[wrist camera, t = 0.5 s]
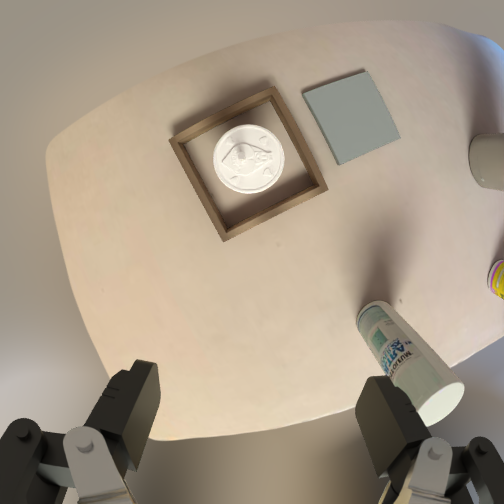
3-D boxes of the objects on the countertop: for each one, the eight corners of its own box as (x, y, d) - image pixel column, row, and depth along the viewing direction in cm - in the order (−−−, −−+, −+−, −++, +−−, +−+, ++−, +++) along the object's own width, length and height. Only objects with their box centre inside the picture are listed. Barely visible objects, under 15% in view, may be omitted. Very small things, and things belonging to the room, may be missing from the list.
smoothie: (219, 141, 32) (200, 119, 19) (271, 134, 32) (287, 109, 19) (225, 192, 34) (211, 203, 20) (277, 185, 34) (297, 193, 20)
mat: (364, 73, 30) (367, 71, 29) (397, 138, 32) (400, 137, 31) (301, 95, 31) (303, 93, 30) (337, 165, 33) (340, 165, 32)
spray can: (381, 339, 40) (440, 425, 21) (348, 332, 40) (402, 429, 20) (399, 303, 39) (474, 381, 19) (366, 294, 38) (439, 381, 19)
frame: (272, 92, 31) (274, 85, 28) (322, 188, 34) (328, 189, 31) (174, 142, 32) (168, 139, 29) (225, 236, 35) (223, 242, 33)
